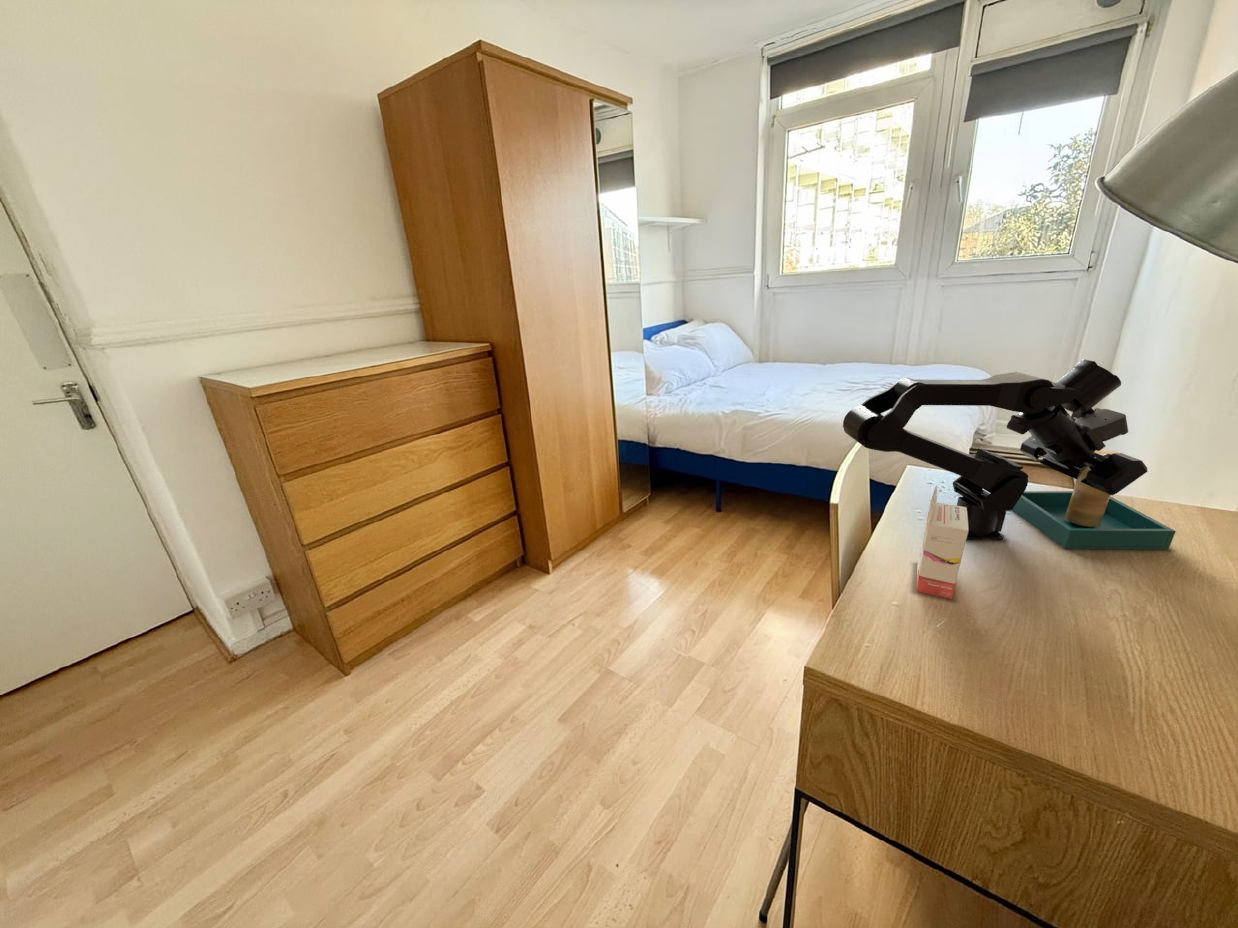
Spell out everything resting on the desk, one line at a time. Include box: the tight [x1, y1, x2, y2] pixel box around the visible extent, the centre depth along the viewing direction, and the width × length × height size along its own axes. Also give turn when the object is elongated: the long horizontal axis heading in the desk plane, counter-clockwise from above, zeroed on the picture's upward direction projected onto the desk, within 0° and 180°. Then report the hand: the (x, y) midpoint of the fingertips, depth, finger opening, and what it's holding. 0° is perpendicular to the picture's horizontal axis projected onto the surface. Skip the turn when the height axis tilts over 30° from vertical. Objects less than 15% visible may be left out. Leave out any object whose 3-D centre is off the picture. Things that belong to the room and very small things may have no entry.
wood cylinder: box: [1065, 449, 1118, 527], centre depth 87 cm, size 5×5×13 cm
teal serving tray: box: [1011, 490, 1177, 550], centre depth 89 cm, size 16×16×4 cm
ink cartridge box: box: [916, 485, 968, 600], centre depth 74 cm, size 9×5×15 cm, turn 149°
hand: (1101, 487), depth 87 cm, fingers closed on wood cylinder, 5 cm apart
